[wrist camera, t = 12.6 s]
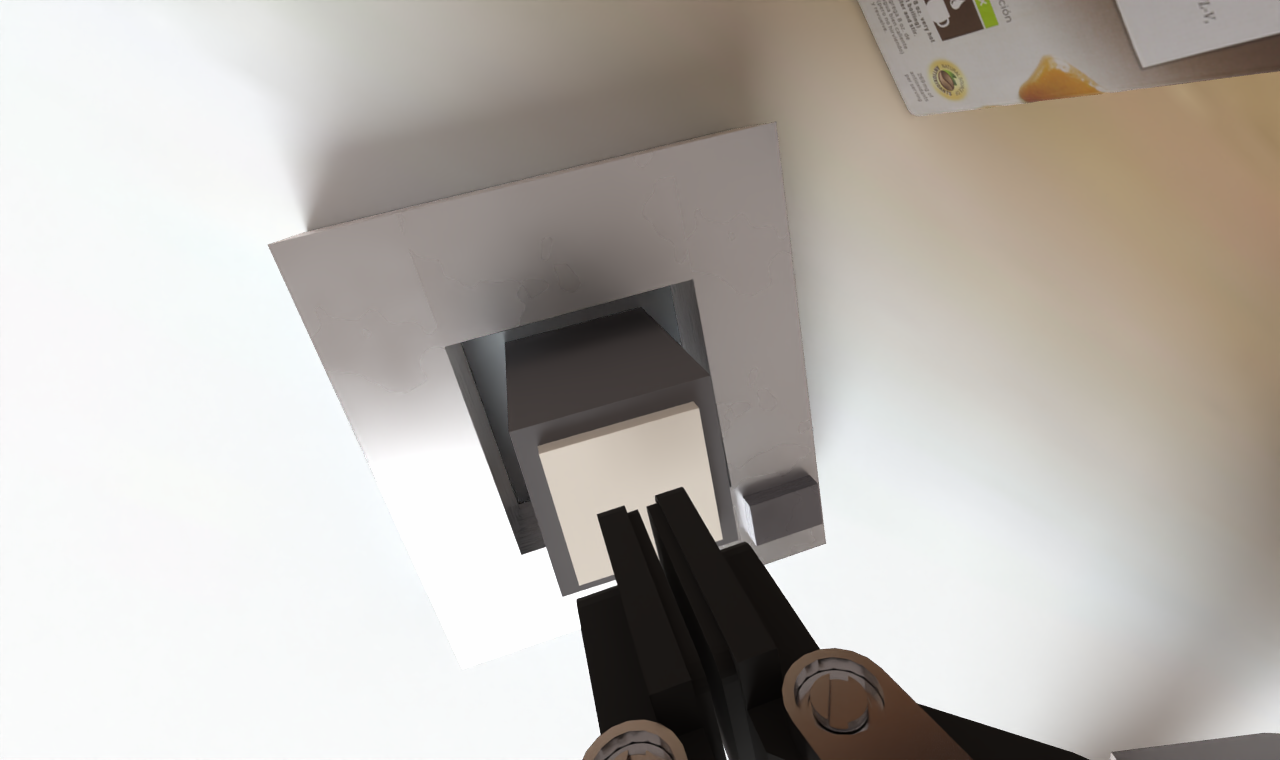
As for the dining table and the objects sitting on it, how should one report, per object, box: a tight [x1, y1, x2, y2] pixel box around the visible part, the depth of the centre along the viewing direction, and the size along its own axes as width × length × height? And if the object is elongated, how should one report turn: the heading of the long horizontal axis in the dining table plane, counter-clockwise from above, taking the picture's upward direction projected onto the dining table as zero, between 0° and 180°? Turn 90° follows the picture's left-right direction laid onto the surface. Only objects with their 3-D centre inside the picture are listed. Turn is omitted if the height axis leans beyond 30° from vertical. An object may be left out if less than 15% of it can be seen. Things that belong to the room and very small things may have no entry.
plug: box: [505, 307, 739, 597], centre depth 17 cm, size 5×5×7 cm
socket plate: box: [268, 122, 826, 669], centre depth 18 cm, size 13×14×4 cm
